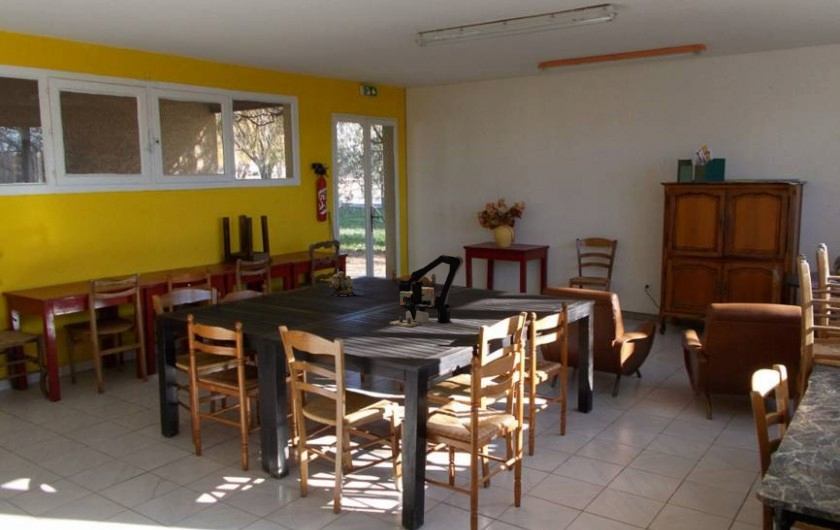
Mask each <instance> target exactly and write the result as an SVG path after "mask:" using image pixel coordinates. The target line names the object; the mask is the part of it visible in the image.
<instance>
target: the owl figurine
mask: <svg viewBox="0 0 840 530" xmlns="http://www.w3.org/2000/svg"><path fill="white" fill-rule="evenodd" d="M345 275H346V274H345V272H344V271H338V273H335V274H333V275H332V281H331V285H329V288H330V289H331V290H333V292H331V293H330V295H331V294H332V295H339V296H340V295H350V294H354V293H355V292H354V290H355V289H356V288H355V287H354V279H352V277H351V275H346V276H345Z"/></svg>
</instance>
